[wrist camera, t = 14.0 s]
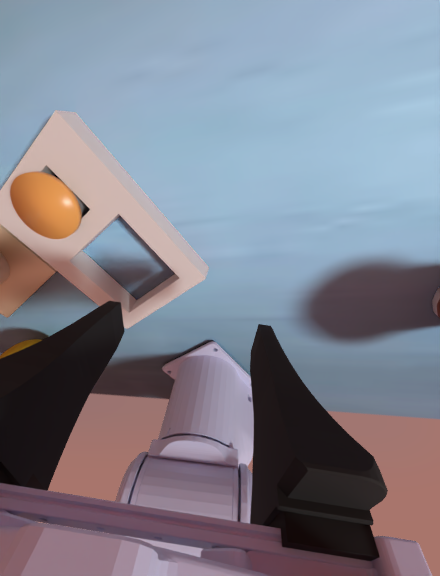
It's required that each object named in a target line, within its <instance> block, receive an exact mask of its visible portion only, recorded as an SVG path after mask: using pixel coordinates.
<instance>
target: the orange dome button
mask: <svg viewBox="0 0 440 576" xmlns="http://www.w3.org/2000/svg"><path fill="white" fill-rule="evenodd" d="M10 196H11V201H12V204H13V207H14V209H15V211H16V213H17V214H18V216H19V217H20V219H21V220H22V221H23V222H24V223H25V224H26V225H27V226H28V227H29V228H30V229H32V230H33V231H34V232H36V233H38V234H39V235H41V236H44V237H47V238H50V239H63V238H66V237H68V236H70V235H71V234H73V233H74V232H76V231H77V230H78V228H79V226H80V224H81V219H82V216H84V215H86V214H87V212H88V211H89V208H88V207H87V206H86V205H85V204H84V202H83V201H82V200H81V199H80V198H79V197H78V196H77V195H76V194H75V193H74V192H73V191H72V190H71V189H70V188H69V187H68V186H67V185H66V184H65V183H64V182H63V181H62V180H61V179H60V178H56V177H55V176H53V175H51V174H48V173H45V172H38V171H36V172H29V173H24V174H21V175H19V176H18V177H16V178H15V179H14V181H13V183H12V185H11V189H10Z"/></svg>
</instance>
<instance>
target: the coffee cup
mask: <svg viewBox="0 0 440 576" xmlns="http://www.w3.org/2000/svg"><path fill="white" fill-rule="evenodd" d="M432 306H433V312H434V313H435V314H436V315H437V316H438V317H439V318H440V287H439V288H438V289H437V291H436V293H435V295H434V297H433V300H432Z"/></svg>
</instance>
